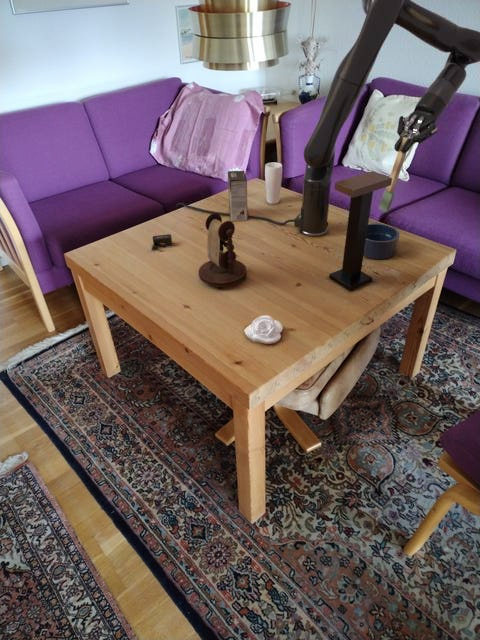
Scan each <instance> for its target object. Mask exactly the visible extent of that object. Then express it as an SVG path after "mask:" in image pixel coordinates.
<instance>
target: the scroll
mask: <svg viewBox="0 0 480 640" xmlns="http://www.w3.org/2000/svg"><path fill="white" fill-rule="evenodd" d="M205 228H206V231H207V258H208V261H206V262H203V264H201V265H200V267H199V268H198V277H199V280H201V282H202V283H205V284H207V285H209V286H214V287H216V288H217V290H220V289H221V287H229V286H233V285H237V284H239V283H241V282H242V281H243V280H245V279H246V277H247V271H248V269H247V266H246V264H244V263H243V262H241V261H240V260H238V259H237V253H236V252H235V251H234V250H235V246H234V244H233V243H234V241H233V237H234V236H233V235H234V233H235V230H236V226H235V223H234V221H231V220H226V221H223V218H222V215H219V214H218V213H213V214H212V213H210V214H209V215H208V216H207V218H206V220H205ZM225 248H226V251H224V249H225Z"/></svg>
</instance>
